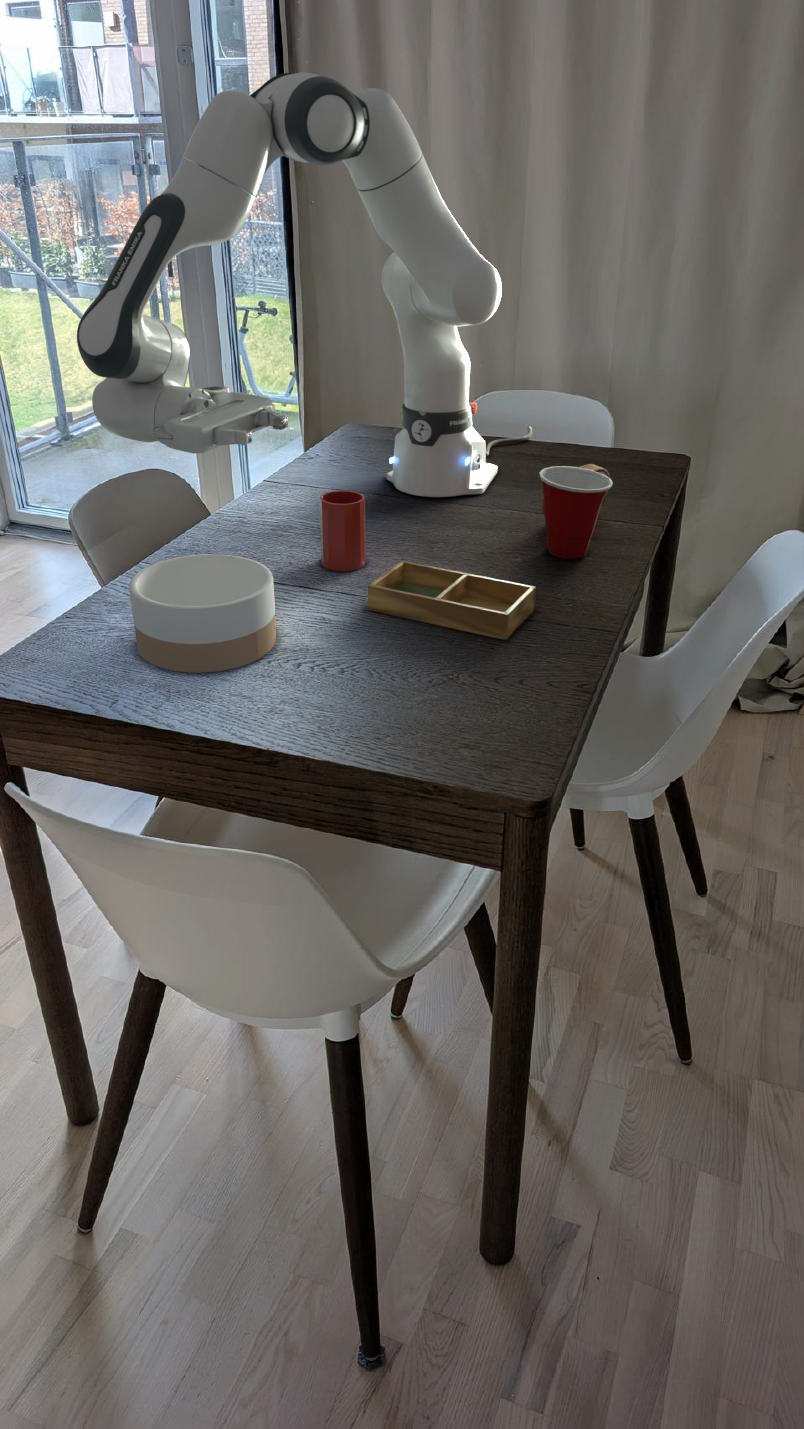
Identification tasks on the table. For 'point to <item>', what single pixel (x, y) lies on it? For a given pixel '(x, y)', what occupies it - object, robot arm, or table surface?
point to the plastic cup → (572, 508)
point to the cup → (342, 530)
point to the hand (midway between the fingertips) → (267, 430)
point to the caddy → (452, 599)
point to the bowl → (203, 612)
